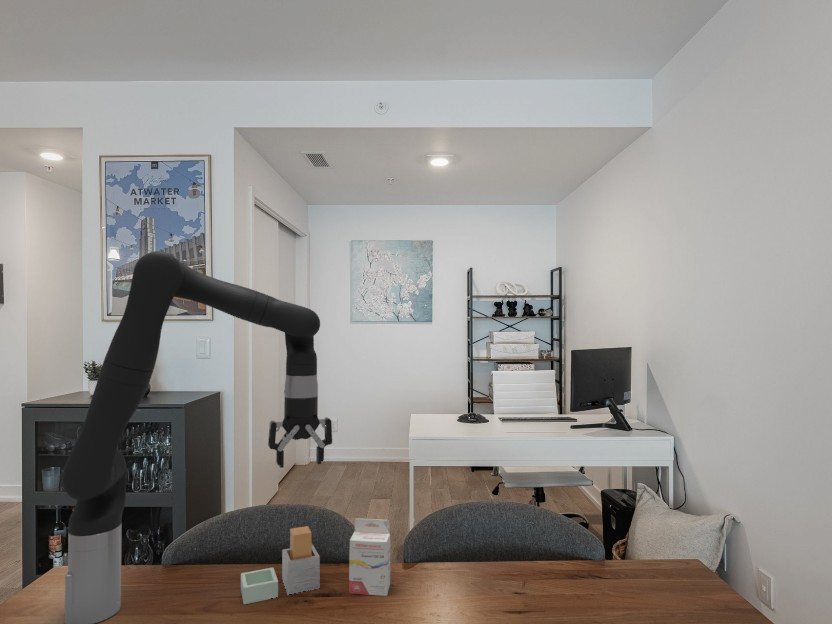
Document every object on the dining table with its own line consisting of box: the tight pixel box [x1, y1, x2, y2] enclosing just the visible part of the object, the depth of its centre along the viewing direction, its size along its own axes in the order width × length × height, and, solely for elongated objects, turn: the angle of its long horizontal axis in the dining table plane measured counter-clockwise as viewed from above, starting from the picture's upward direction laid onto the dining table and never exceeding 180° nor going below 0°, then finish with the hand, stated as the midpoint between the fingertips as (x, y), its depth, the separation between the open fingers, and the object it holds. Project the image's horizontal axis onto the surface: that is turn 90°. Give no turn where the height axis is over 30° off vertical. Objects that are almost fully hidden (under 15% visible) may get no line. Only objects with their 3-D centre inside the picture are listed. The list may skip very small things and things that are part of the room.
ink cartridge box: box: [348, 517, 391, 597], centre depth 114 cm, size 9×5×15 cm, turn 84°
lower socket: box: [240, 567, 279, 605], centre depth 113 cm, size 7×7×3 cm
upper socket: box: [281, 543, 321, 596], centre depth 116 cm, size 7×7×7 cm
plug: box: [289, 525, 313, 560], centre depth 117 cm, size 4×4×8 cm
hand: (300, 465), depth 119 cm, fingers open, 8 cm apart
